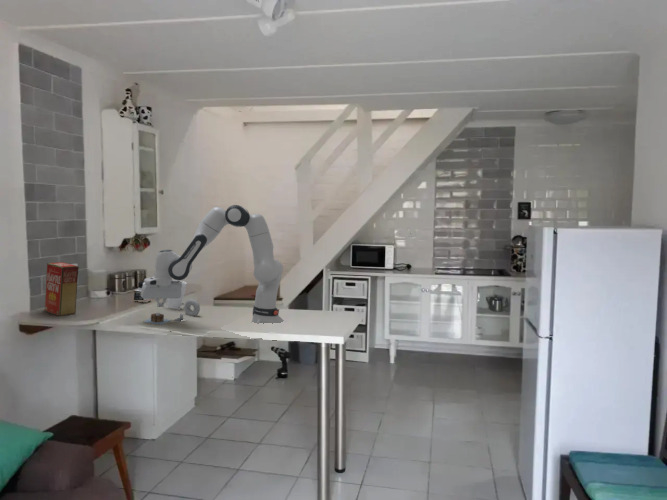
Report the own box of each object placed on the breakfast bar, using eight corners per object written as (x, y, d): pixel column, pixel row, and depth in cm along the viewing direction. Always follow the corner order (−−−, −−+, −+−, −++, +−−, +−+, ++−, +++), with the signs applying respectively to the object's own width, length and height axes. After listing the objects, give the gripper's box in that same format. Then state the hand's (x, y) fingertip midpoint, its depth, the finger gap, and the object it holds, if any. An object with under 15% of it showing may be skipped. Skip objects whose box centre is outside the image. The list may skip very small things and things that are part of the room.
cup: (171, 312, 279) (173, 284, 278) (159, 307, 286) (161, 280, 285) (188, 310, 289) (191, 283, 287) (176, 305, 296) (179, 279, 294)
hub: (170, 322, 260) (171, 312, 259) (161, 326, 250) (162, 316, 249) (152, 319, 261) (153, 309, 260) (143, 323, 251) (143, 313, 250)
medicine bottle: (133, 301, 294) (135, 281, 293) (141, 299, 301) (142, 280, 300) (143, 303, 292) (145, 283, 291) (151, 301, 299) (152, 282, 298)
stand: (188, 321, 266) (189, 313, 265) (183, 323, 260) (184, 316, 259) (178, 319, 266) (178, 312, 266) (173, 322, 260) (173, 314, 260)
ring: (161, 318, 260) (162, 313, 259) (164, 321, 254) (164, 316, 254) (149, 319, 256) (150, 313, 256) (152, 322, 251) (152, 316, 251)
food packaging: (43, 310, 252) (46, 262, 250) (60, 308, 260) (63, 261, 258) (59, 316, 246) (62, 267, 244) (76, 313, 254) (80, 266, 252)
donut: (181, 315, 276) (183, 297, 275) (185, 314, 279) (187, 297, 278) (196, 318, 272) (198, 301, 272) (200, 317, 276) (202, 300, 275)
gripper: (180, 279, 264) (177, 304, 266) (141, 279, 252) (138, 305, 253) (184, 281, 259) (181, 307, 261) (144, 281, 247) (142, 308, 248)
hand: (160, 306), depth 257 cm, fingers closed
